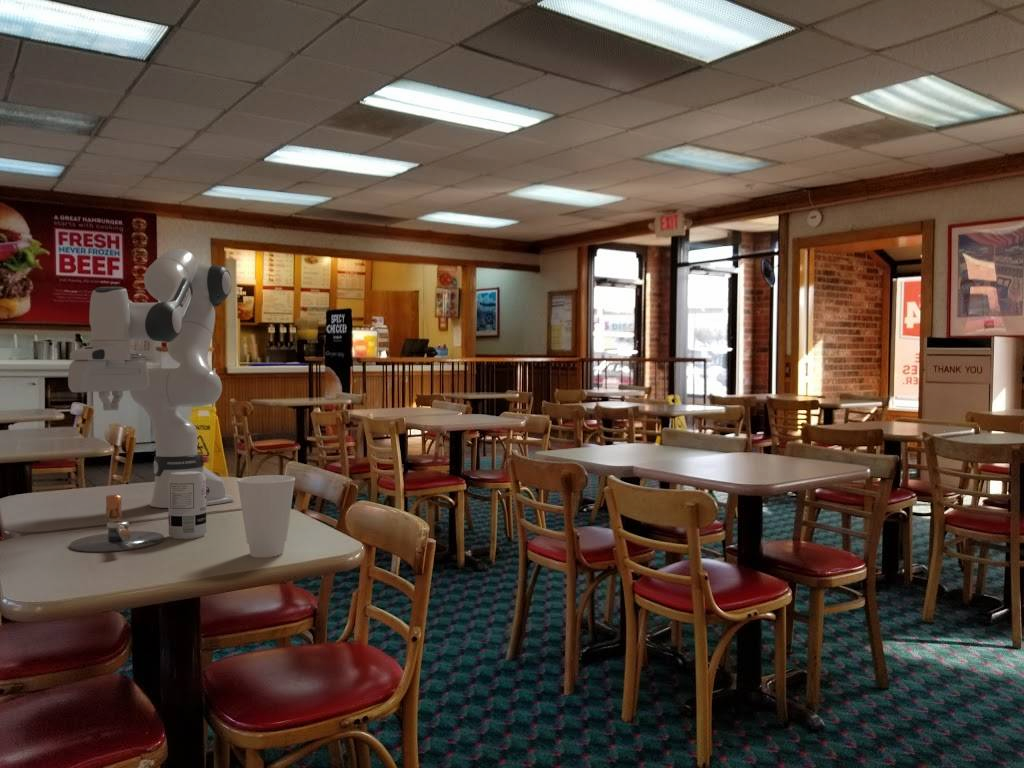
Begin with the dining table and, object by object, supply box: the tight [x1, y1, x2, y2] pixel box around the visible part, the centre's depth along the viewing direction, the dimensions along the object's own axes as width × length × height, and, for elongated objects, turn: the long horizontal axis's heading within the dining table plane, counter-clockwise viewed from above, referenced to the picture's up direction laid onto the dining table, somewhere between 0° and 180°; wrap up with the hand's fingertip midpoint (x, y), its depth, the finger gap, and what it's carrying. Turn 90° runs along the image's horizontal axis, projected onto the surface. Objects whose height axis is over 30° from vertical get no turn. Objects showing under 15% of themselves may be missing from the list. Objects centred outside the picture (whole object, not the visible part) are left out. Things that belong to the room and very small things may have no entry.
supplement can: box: [167, 471, 207, 540], centre depth 189 cm, size 8×8×15 cm
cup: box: [236, 474, 296, 558], centre depth 172 cm, size 12×12×16 cm
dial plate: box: [69, 528, 165, 553], centre depth 183 cm, size 19×19×3 cm
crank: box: [105, 494, 131, 541], centre depth 180 cm, size 25×4×6 cm, turn 32°
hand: (111, 410), depth 196 cm, fingers closed
